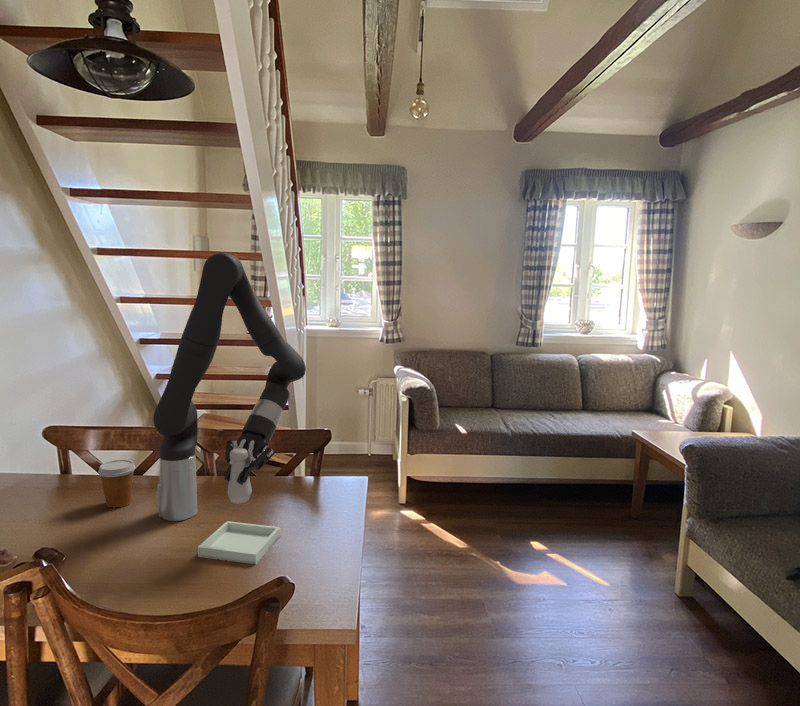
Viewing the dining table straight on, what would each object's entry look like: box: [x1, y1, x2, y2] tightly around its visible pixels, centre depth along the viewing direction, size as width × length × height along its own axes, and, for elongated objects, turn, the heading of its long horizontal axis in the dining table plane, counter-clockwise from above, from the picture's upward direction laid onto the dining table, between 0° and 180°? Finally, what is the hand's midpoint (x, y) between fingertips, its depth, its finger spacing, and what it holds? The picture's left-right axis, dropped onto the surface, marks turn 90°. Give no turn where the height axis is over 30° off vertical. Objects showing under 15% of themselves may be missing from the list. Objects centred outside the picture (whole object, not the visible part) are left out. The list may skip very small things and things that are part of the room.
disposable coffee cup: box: [97, 459, 136, 509], centre depth 154 cm, size 10×10×12 cm
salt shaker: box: [226, 447, 253, 504], centre depth 130 cm, size 6×6×13 cm
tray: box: [197, 520, 281, 565], centre depth 133 cm, size 15×14×2 cm
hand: (233, 481), depth 128 cm, fingers closed on salt shaker, 3 cm apart
